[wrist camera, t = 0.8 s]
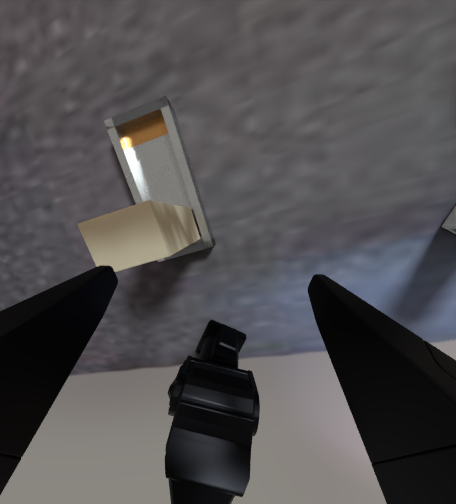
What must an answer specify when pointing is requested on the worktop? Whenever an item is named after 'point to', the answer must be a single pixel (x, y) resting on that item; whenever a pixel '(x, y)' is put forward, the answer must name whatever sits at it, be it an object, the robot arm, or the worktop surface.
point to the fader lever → (139, 234)
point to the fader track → (159, 163)
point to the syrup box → (450, 222)
